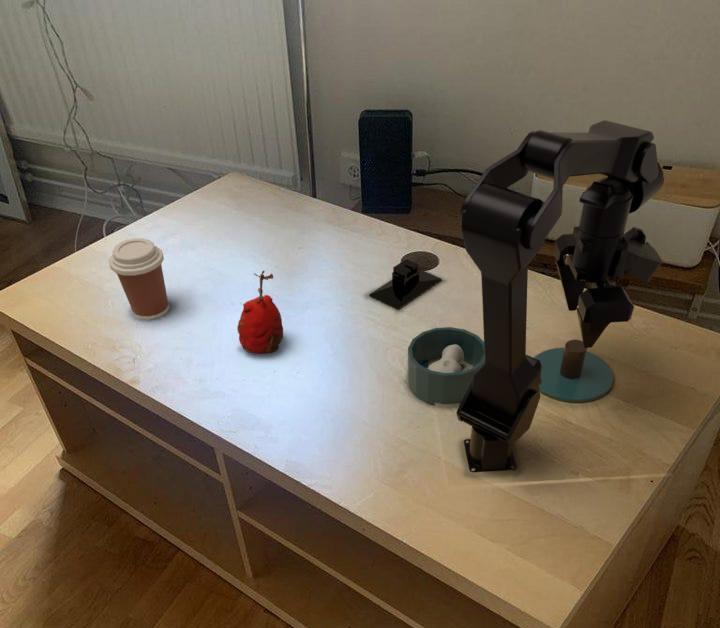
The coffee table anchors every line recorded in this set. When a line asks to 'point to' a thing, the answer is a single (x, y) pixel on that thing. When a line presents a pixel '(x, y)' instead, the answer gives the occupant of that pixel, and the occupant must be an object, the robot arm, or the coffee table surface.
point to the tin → (439, 384)
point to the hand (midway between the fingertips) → (579, 328)
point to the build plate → (405, 285)
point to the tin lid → (573, 373)
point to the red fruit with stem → (260, 323)
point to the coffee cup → (141, 276)
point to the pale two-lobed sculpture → (449, 360)
